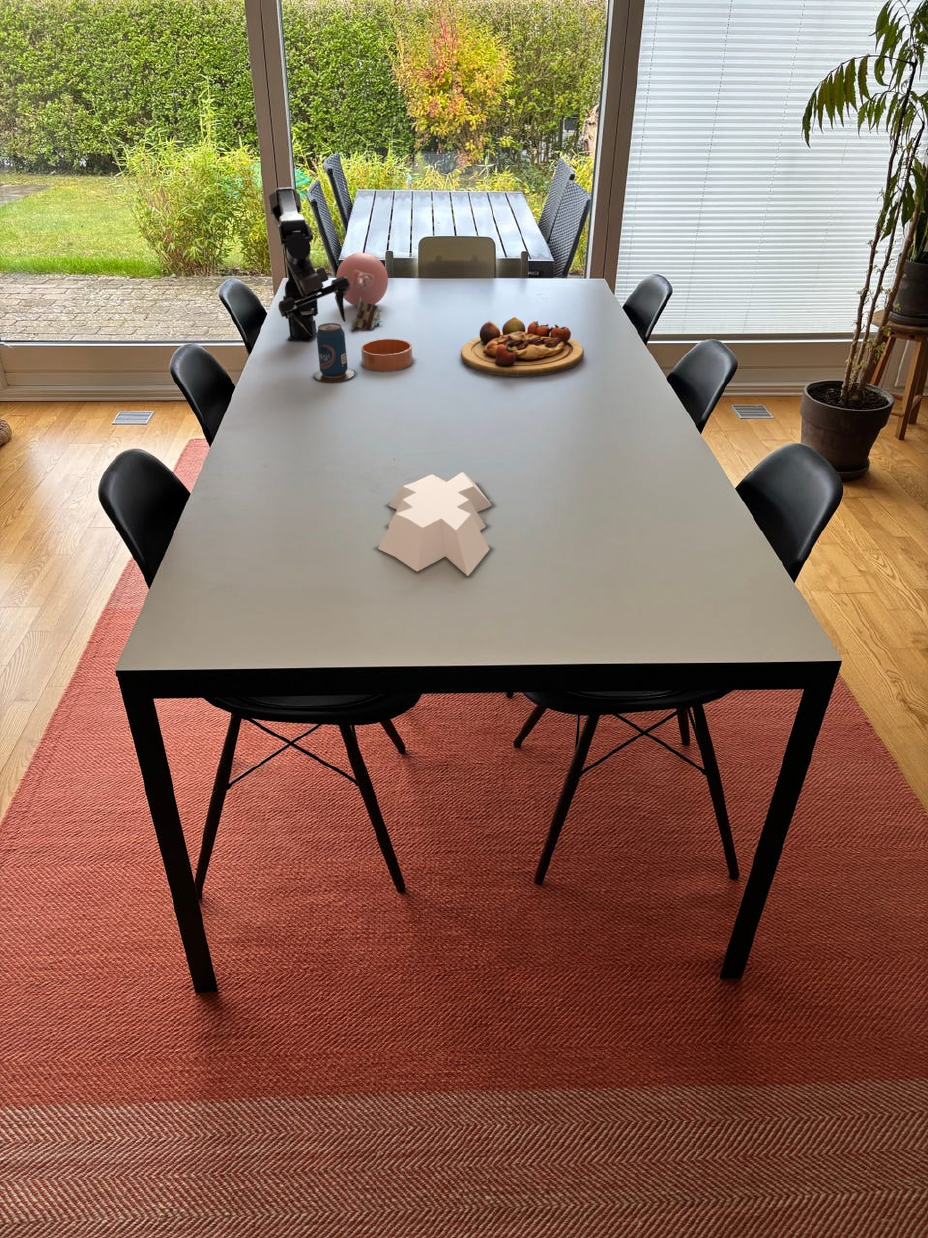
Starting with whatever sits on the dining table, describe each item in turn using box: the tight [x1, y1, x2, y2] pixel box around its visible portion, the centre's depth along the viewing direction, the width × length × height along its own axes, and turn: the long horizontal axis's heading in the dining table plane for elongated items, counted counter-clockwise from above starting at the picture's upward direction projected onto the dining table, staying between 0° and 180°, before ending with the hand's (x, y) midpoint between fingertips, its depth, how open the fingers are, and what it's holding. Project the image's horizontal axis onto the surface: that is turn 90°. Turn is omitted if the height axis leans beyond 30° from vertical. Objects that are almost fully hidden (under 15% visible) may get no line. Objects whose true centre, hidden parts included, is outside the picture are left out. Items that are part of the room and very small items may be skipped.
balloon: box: [335, 252, 389, 307], centre depth 292 cm, size 15×20×15 cm
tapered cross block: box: [377, 471, 493, 577], centre depth 178 cm, size 35×20×6 cm, turn 177°
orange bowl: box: [360, 338, 413, 372], centre depth 254 cm, size 13×13×4 cm
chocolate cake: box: [351, 297, 382, 331], centre depth 282 cm, size 10×7×12 cm
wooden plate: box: [460, 316, 585, 377], centre depth 254 cm, size 32×32×8 cm
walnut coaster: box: [314, 368, 355, 384], centre depth 247 cm, size 10×10×1 cm
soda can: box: [315, 322, 349, 378], centre depth 244 cm, size 7×7×12 cm
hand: (328, 328), depth 251 cm, fingers open, 9 cm apart
